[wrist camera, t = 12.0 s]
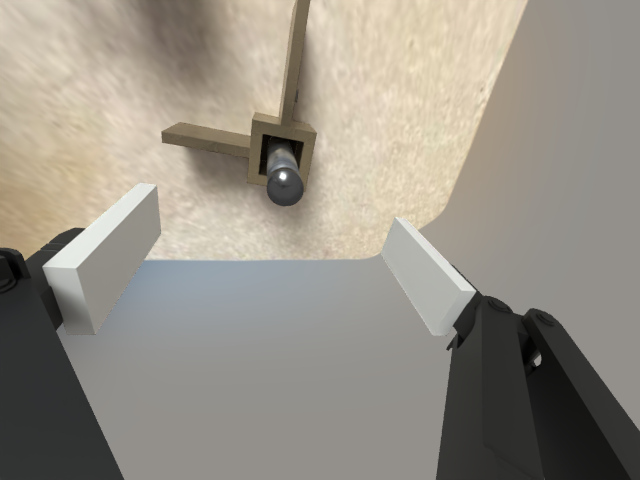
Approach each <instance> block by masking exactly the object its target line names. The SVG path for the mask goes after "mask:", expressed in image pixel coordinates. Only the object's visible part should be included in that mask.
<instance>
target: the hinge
mask: <svg viewBox="0 0 640 480" xmlns="http://www.w3.org/2000/svg"><path fill="white" fill-rule="evenodd" d="M309 5H310V0H296V2H295V5H294V7H293V12H292V20H291V27H290V35H289V42H288V50H287V58H286V65H285V73H284V80H283V88H282V96H281V103H280V111H279V117H275V116H270V115H265V114H261V113H256V112H255V114H254V116H253V119H252V129H251V136H247V135H242V134H237V133H232V132H227V131H222V130H217V129H212V128H207V127H201V126H196V125H191V124H186V123H181V122H179V123H177V124H175V125H173V126H171V127H170V128H168V129H166V130H164V131H162V143H167V144H173V145H179V146H185V147H190V148H196V149H202V150H207V151H213V152H219V153H224V154H230V155H236V156H241V157H247V158H249V163H248V175H247V183H251V184H257V185H264V186H267V161H264V160H260V154H261V145H262V136H263V134H267V135H272V136H277V137H282V138H287V139H292V140H297V145H296V151H295V160H296V163H297V166H298V169H299V173H300V176H301V179H302V182H303V185H304V192H305V189H306V184H307V179H308V174H309V169H310V164H311V159H312V154H313V149H314V144H315V139H316V135H317V133H316V131H315V130H314V129H313V128H312V127H311V126H310V124H306V123H302V122H297V121H293V120H292V115H293V108H294V102H297V97H298V89H297V83H298V76H299V70H300V63H301V57H302V50H303V44H304V37H305V31H306V24H307V18H308V11H309Z"/></svg>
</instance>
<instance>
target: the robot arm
mask: <svg viewBox="0 0 640 480" xmlns="http://www.w3.org/2000/svg"><path fill="white" fill-rule="evenodd" d="M160 234H161V226H160V215H159V204H158V192H157V185H152V184H145V183H138V184H137V185H136V186H135V187H133V188H132V189H131V190H130V191H129V192H128V193H127V194H125V195H124V196H123V197H122V198H121V199H120V200H118V201H117V202H116V203H115V204H114V205H113V206H112V207H110V208H109V209H108V210H107V211H106V212H105V213H103V214H102V215H101V216H100V217H99V218H98V219H97V220H95V221H94V222H93V223H92V224H91V225H90V226H88V227H87V228H86V229H85V228H73V229H70V230H68V231H66V232H63V233H61V234H59V235H58V236H56V237H55V238H54V239H52V240H51V241H50V242H49V244H46V245H45V246H43V247H42V248H41V250H40V251H39V250H38V251H37V252H36V253H35V254H33V255H32V256H31V257H29V258H28V259H27V260H26V261H24V258H23V256H22V254H21V253H20V252H19V251H17V250H14V249H10V248H0V480H124V478H123V476H122V474H121V472H120V469H119V467H118V465H117V463H116V461H115V458H114V456H113V454H112V452H111V450H110V448H109V446H108V443H107V441H106V439H105V437H104V435H103V432H102V430H101V428H100V426H99V424H98V422H97V419H96V417H95V415H94V413H93V411H92V408H91V406H90V404H89V402H88V400H87V398H86V395H85V394H84V391H83V389H82V387H81V385H80V382H79V380H78V378H77V376H76V374H75V372H74V369H73V367H72V365H71V363H70V361H69V359H68V356H67V354H66V352H65V350H64V348H63V346H62V343H61V341H60V339H59V337H58V335H57V333H56V330H57V329H58V327H59V326H60V325H61V324H62V323H63V324H64V327H65V330H66V332H67V334H68V335H96V333H97V332H98V330H99V328H100V327H101V325H102V324H103V322H104V321H105V319H106V318H107V316H108V315H109V313H110V311H111V310H112V308H113V307H114V305H115V304H116V302H117V301H118V299H119V297H120V296H121V295H122V293H123V291H124V290H125V288H126V287H127V285H128V284H129V282H130V281H131V279H132V278H133V276H134V274H135V273H136V271H137V270H138V268H139V267H140V265H141V264H142V262H143V261H144V259H145V258H146V256H147V254H148V253H149V251H150V250H151V248H152V247H153V245H154V244H155V242H156V241H157V239H158V238H159V236H160ZM380 254H381V256H382V257H383V259H384V260H385V262H386V263H387V265H388V266H389V268H390V270H391V271H392V273H393V274H394V276H395V278H396V279H397V281H398V282H399V284H400V285H401V287H402V288H403V290H404V292H405V293H406V294H407V296H408V298H409V299H410V301H411V302H412V304H413V306H414V307H415V309H416V310H417V312H418V313H419V315H420V316H421V318H422V319H423V321H424V323H425V324H426V326H427V327H428V329H429V330H430V332H431V333H432V335H436V336H439V335H440V336H443V335H445V336H446V335H447V334H448V333H449V331H450V330H451V328H452V327H454V328H455V329H456V331H457V334H456V335H455V337H454V338H453V340H452V341H451V342H450V344H449V345H448V347H447V350H449V349H450V348H453V349H452V356H451V364H450V372H449V380H448V388H447V396H446V404H445V412H444V421H443V428H442V437H441V445H440V452H439V460H438V468H437V476H436V480H544V478H545V480H640V431H639V430H638V428H637V427H636V426H635V424H634V423H633V422H632V420H631V419H630V418H629V416H628V415H627V413H626V412H625V411H624V409H623V408H622V407H621V405H620V404H619V403H618V401H617V400H616V398H615V397H614V396H613V395H612V393H611V392H610V390H609V389H608V388H607V386H606V385H605V383H604V382H603V381H602V379H601V378H600V377H599V375H598V374H597V373H596V371H595V370H594V368H593V367H592V366H591V365H590V363H589V362H588V361H587V359H586V358H585V356H584V355H583V354H582V352H581V351H580V349H579V348H578V347H577V345H576V344H575V343H574V342H573V340H572V339H571V337H570V336H569V334H568V333H567V332H566V330H565V329H564V328H563V326H562V325H561V324H560V323H559V322H558V321H557V320H556V319H555V318H553V316H552V315H550V314H548V313H546V312H543V311H541V310H538V309H534V308H532V309H529V310H528V312H527V313H526V314H525V315H524V316H522V315H518V314H515V313H513V311H512V310H511V309H510V307H509V306H508V305H506V304H505V303H503V302H502V301H500V300H498V299H496V298H494V297H491V296H483V295H482V294H481V293H480V292H479V291H478V290H477V289H476V288H475V287H474V286H473V285H472V284H471V283H470V282H469V281H468V280H466V278H465V277H464V276H463V275H462V274H460V272H459V271H458V270H457V269H456V268H455V267H454V266H453V265H451V264H450V263H448V262H447V261H446V260H445V258H444V257H443V256H442V255H441V254H440V253H439V252H438V251H437V250H436V249H435V248H434V247H433V246H432V245H431V244H430V243H429V242H428V241H427V240H426V239H425V238H424V237H423V236H422V235H421V234H420V233H419V232H418V231H417V230H416V229H415V228H414V227H413V226H412V225H411V224H410V222H409V221H408V220H407V219H405V218H398V217H395V218H394V220H393V223H392V225H391V228H390V230H389V233H388V235H387V238H386V240H385V243H384V245H383V248H382V250H381V253H380ZM540 354H541V359H542V360H541V364H540V365H539V366H536V365H535V363H534V360H535V359H536V358H537V357H538V356H539V355H540Z"/></svg>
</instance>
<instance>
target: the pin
mask: <svg viewBox="0 0 640 480" xmlns="http://www.w3.org/2000/svg"><path fill="white" fill-rule="evenodd" d="M303 192H304V185H303V182H302V179H301V176H300V173H299V169H298V166H297V163H296V160H295V157H294V154H293V151H292V148H291V145H290V142H289V140H288V139H287V138H282V137H277V136H272V137H271V138H270V139H269V141H268V157H267V193H268V196H269V198H270V199H271V200H272V201H273V202H274V203H276V204H278V205H280V206H291V205H293V204H295V203H297V202H298V201H299V200H300V199H301V197H302V195H303Z"/></svg>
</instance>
